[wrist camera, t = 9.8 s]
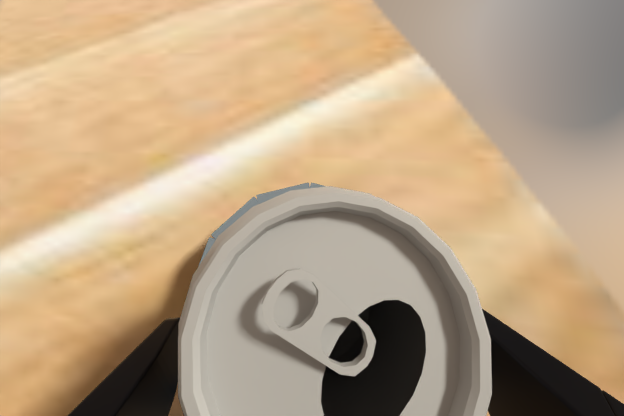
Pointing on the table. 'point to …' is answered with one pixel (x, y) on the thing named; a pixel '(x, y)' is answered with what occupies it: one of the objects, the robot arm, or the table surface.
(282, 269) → the can
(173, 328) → the robot arm
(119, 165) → the table surface
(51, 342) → the table surface
